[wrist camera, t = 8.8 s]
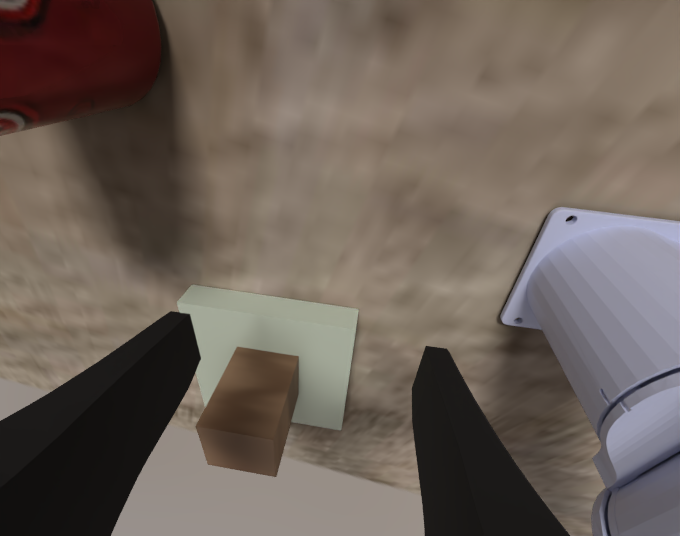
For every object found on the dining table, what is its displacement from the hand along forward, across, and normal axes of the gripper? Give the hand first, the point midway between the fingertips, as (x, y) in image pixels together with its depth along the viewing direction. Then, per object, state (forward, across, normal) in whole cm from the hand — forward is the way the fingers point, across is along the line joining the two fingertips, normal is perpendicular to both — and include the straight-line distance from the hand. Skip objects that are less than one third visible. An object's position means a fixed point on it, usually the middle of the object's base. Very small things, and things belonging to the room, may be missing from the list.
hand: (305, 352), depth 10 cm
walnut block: (+8, +4, +13) cm, 16 cm away
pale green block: (+10, +4, +13) cm, 17 cm away
